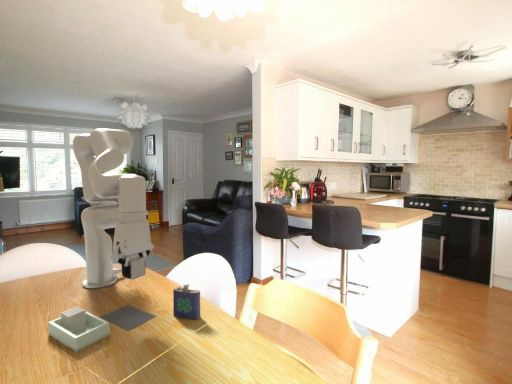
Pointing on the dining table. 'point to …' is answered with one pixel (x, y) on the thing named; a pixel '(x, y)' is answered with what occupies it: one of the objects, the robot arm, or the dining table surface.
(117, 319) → the mat
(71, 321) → the stone
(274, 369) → the dining table surface
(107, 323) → the bin
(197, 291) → the flask
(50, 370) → the dining table surface
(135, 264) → the grey block
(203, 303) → the dining table surface
